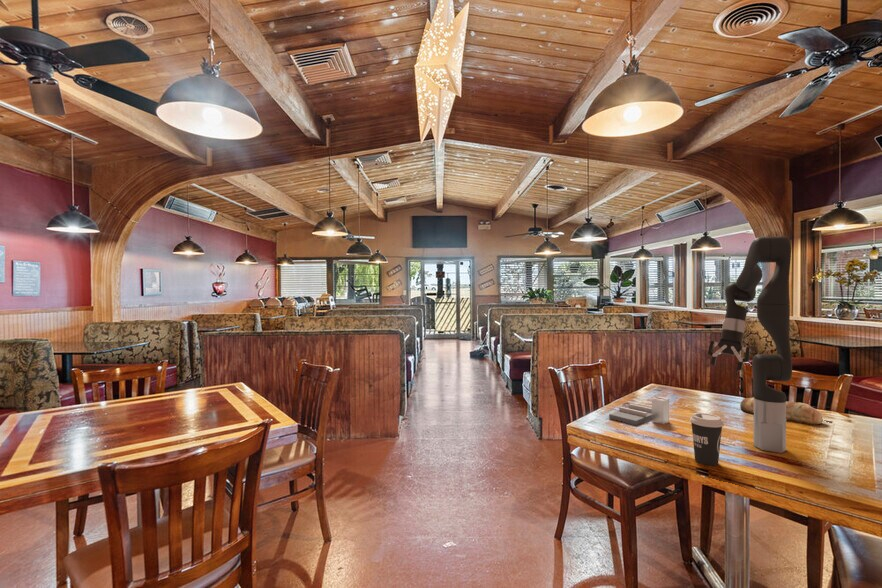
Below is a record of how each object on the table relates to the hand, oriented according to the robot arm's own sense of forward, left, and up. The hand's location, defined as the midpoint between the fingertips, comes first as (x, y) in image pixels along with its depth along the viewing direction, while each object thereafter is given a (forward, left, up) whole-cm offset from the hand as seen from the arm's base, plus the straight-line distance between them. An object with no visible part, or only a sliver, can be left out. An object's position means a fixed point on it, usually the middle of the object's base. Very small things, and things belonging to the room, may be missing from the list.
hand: (725, 368), depth 175 cm
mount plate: (-4, +33, -24) cm, 41 cm away
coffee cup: (-47, +8, -24) cm, 53 cm away
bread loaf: (+26, -22, -24) cm, 42 cm away
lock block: (-8, +24, -24) cm, 34 cm away
